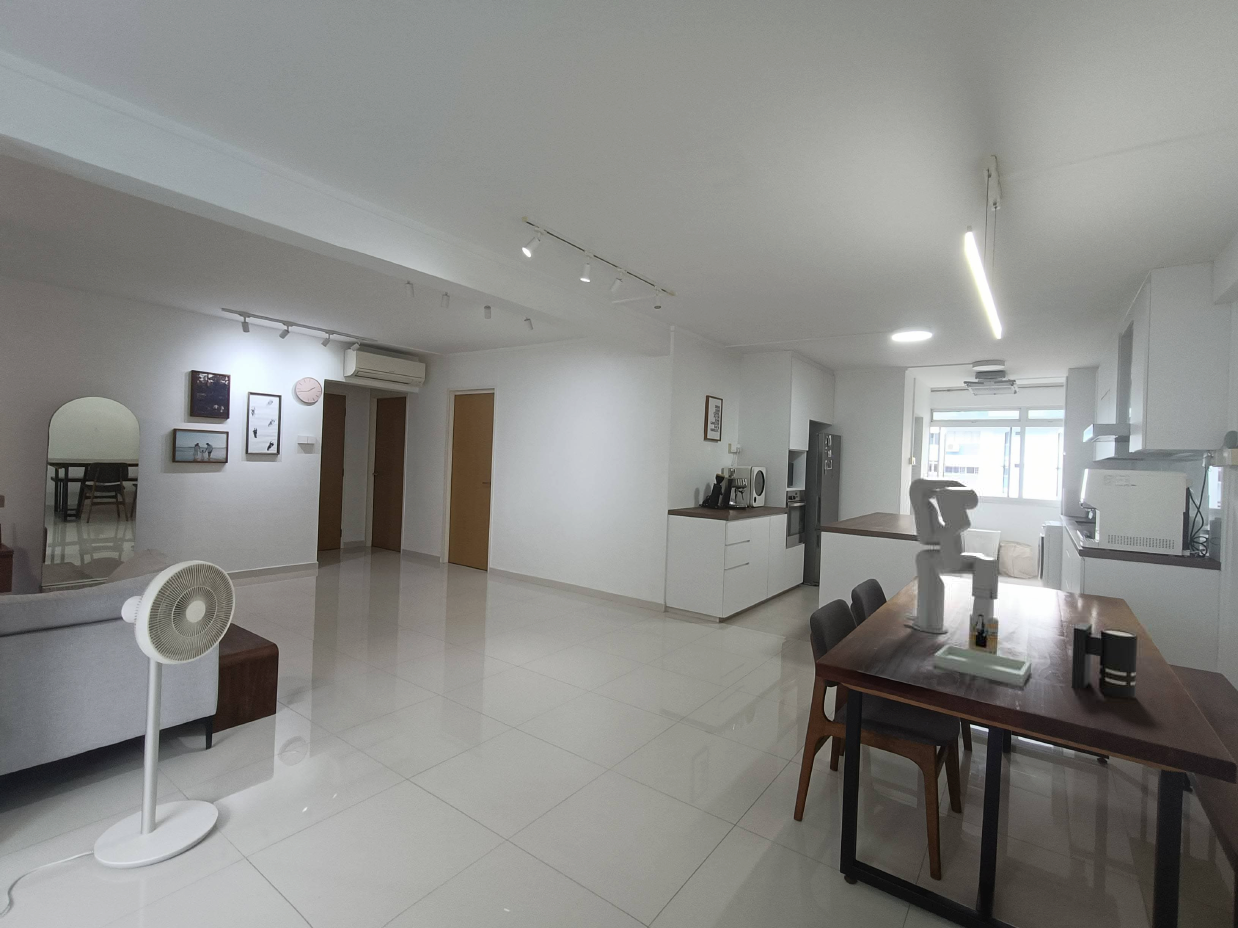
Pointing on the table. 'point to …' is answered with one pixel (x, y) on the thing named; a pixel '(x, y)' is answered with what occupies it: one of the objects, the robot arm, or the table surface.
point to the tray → (983, 664)
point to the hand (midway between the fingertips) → (982, 644)
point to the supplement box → (990, 633)
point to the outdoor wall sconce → (1105, 660)
